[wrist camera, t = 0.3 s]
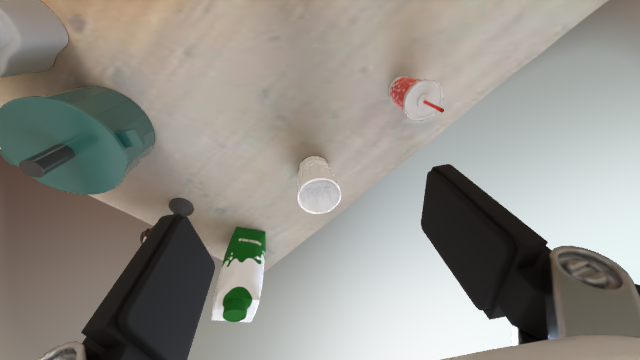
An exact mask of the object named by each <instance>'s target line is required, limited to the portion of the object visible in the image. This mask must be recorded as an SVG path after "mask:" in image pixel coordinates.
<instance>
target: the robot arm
mask: <svg viewBox="0 0 640 360" xmlns="http://www.w3.org/2000/svg"><path fill="white" fill-rule="evenodd" d="M421 226H422V229H423V231H424V233H425V234H426V235H427V237H428V238H429V240H430V241H431V243H432V244H433V246H434V247H435V249H436V250H437V251H438V253H439V254H440V256H441V257H442V259H443V260H444V262H445V263H446V265H447V266H448V267H449V269H450V270H451V272H452V273H453V275H454V276H455V278H456V279H457V280H458V282H459V283H460V285H461V286H462V288H463V289H464V291H465V292H466V293H467V295H468V296H469V298H470V299H471V301H472V302H473V304H474V305H475V306H476V307H477V308H478V309H479V310H483V311H484V313H485V314H486V315H487V317H488V318H489V319H495V318H500V317H505V316H506V317H507V319H508V320H509V321H510V323H511V324H512V346H510V347H505V348H499V349H493V350H487V351H483V352H477V353H472V354H467V355H463V356H458V357H452V358H447V359H442V360H640V285H637V284H634V282H633V280H632V279H631V277H630V276H629V274H628V273H627V272H626V271H625V270H624V269H623V268H622V267H621V266H619V265H618V264H617V263H615V262H613V261H612V260H610V259H609V258H607V257H605V256H602V255H601V254H599V253H596V252H594V251H591V250H588V249H584V248H580V247H574V246H561V247H557V248H554V249H553V250H550V249H549V248H548V247H546V244H547V241H546V240H544V239H543V238H542V237H541V236H539V235H538V234H537V233H536V232H534V231H533V230H532V229H531V228H529V227H528V226H527V225H525V224H524V223H523V222H522V221H521V220H519V219H518V218H517V217H516V216H514V215H513V214H512V213H510V212H509V211H508V210H507V209H506V208H504V207H503V206H502V205H500V204H499V203H498V202H497V201H495V200H494V199H493V198H492V197H491V196H489V195H488V194H487V193H486V192H484V191H483V190H482V189H481V188H479V187H478V186H477V185H476V184H474V183H473V182H472V181H470V180H469V179H468V178H467V177H465V176H464V175H463V174H462V173H460V172H459V171H458V170H456V169H455V168H454V167H453V166H452V165H449V164H446V165H441V166H436V167H433V168H432V170H431V171H430V172H428V174H427V181H426V189H425V196H424V204H423V212H422V219H421ZM214 270H215V265H214V261H213V259H212V258H211V256H210V254H209V253H208V251H207V249H206V248H205V246H204V244H203V243H202V241H201V239H200V238H199V236H198V234H197V233H196V231H195V229H194V227H193V226H192V224H191V222H190V221H189V219H188V218H187V217H186V216H183V215H181V214H172V215H167V216H163V217H161V218H160V219H159V221H158V222H157V223H156V225H155V226H154V228H153V229H152V231H151V232H150V234H149V235H148V236H147V238H146V239H145V241H144V242H143V244H142V245H141V247H140V248H139V250H138V251H137V252H136V254H135V255H134V257H133V258H132V260H131V261H130V263H129V264H128V265H127V267H126V268H125V270H124V271H123V273H122V274H121V275H120V277H119V278H118V280H117V281H116V283H115V284H114V286H113V287H112V289H111V290H110V291H109V293H108V294H107V296H106V297H105V299H104V300H103V301H102V303H101V304H100V306H99V307H98V309H97V310H96V312H95V313H94V314H93V316H92V317H91V319H90V320H89V322H88V323H87V325H86V326H85V328H84V329H83V330H82V332H81V333H83V334H84V335H85V336H87V337H86V338H85V340H84V341H83V343H80V342H77V341H74V342H67V343H64V344H62V345H59V346H57V347H55V348H54V349H52V350H50V351H49V352H47V353H45V354H44V355H43V356H42V357H40V358H39V359H37V360H187V358H188V355H189V351H190V348H191V345H192V342H193V338H194V335H195V332H196V329H197V326H198V322H199V319H200V316H201V313H202V309H203V306H204V303H205V299H206V296H207V293H208V290H209V287H210V283H211V280H212V277H213V274H214Z"/></svg>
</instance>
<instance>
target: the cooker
mask: <svg viewBox="0 0 640 360" xmlns="http://www.w3.org/2000/svg"><path fill="white" fill-rule="evenodd" d="M43 97H50V98H55V99H59V100H63V101H66V102H68V103H71V104H74V105H76V106H78V107H80V108H82V109H84V110H86V111H88V112H89V113H91V114H92V115H94V116H95V117H97V118H98V119H99V120H101V121H102V122H103V123H105V124H106V125H107V126H108V127H109V128H110V129H111V130H112V131H113V132H114V134H115V135H116V136H117V137H118V139H119V140H120V142H121V143H122V145H123V147H124V149H125V152H126V154H127V159H128V170H127V173H128V172H129V171H130V170H131V169H132V168H134V167H135V166H136V165H137V164H138V163H139V162H140V161H142V160H143V159H144V158H145V157H146V156H147V155H148V154H149V153H150V151H151V150H152V148H153V145H154V141H155V135H154V130H153V126H152V124H151V122H150V120H149V118H148V117H147V115H146V114H145V113H144V111H143V110H142V109H141V108H140V107H139V106H138V105H137V104H136V103H135V102H133V101H132V100H131V99H129V98H128V97H126V96H124V95H123V94H121V93H119V92H117V91H114V90H111V89H108V88H105V87H99V86H84V87H78V88H72V89H69V90H65V91H61V92H57V93H53V94H49V95H45V96H43ZM0 155H1V156H2V157H3V158H4V159H5V160H6V161H7V162H8V163H9V164H10V165H15V164H14V163H13V162H12V161H11V160H10V159H9V158H8V157H7V156H6V154H5V153H4V152H3V150H2V149H0Z"/></svg>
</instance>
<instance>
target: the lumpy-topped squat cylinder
mask: <svg viewBox="0 0 640 360" xmlns="http://www.w3.org/2000/svg"><path fill="white" fill-rule="evenodd" d="M67 43H68V34H67V31H66V29H65V27H64V25H63V24H62V22H61V21H60V19H59V18H58V17H57V16H56V15H55V14H54V13H53V12H52V11H51V10H50V9H49V8H48V7H47V6H46V5H45V4H44V3H43V2H41V1H40V0H0V78H1V77H7V76H15V75H22V74H28V73H35V72H41V71H47V70H50V69H51V68H52V67H53V65H54V62H55V59H56V56H57V54H58V53H59V52H60V51H61V50H62V49H63V48H64V47H65V46H66V45H67Z"/></svg>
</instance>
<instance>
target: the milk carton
mask: <svg viewBox="0 0 640 360" xmlns="http://www.w3.org/2000/svg"><path fill="white" fill-rule="evenodd" d="M264 262H265V232H263V231H257V230H251V229H245V228H239V227H236V230H235V232H234V234H233V236H232V238H231V241H230V243H229V245H228V248H227V251H226V254H225V257H224V261H223V264H222V268H221V272H220V275H219V279H218V282H217V287H216V292H215V293H214V297H213V306H212V319H211V320H219V321H230V322H251V321H252V319H253V316H254V315H255V313H256V310H257V306H258V304H259V301H260V293H261V289H262V282H263V272H264Z"/></svg>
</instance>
